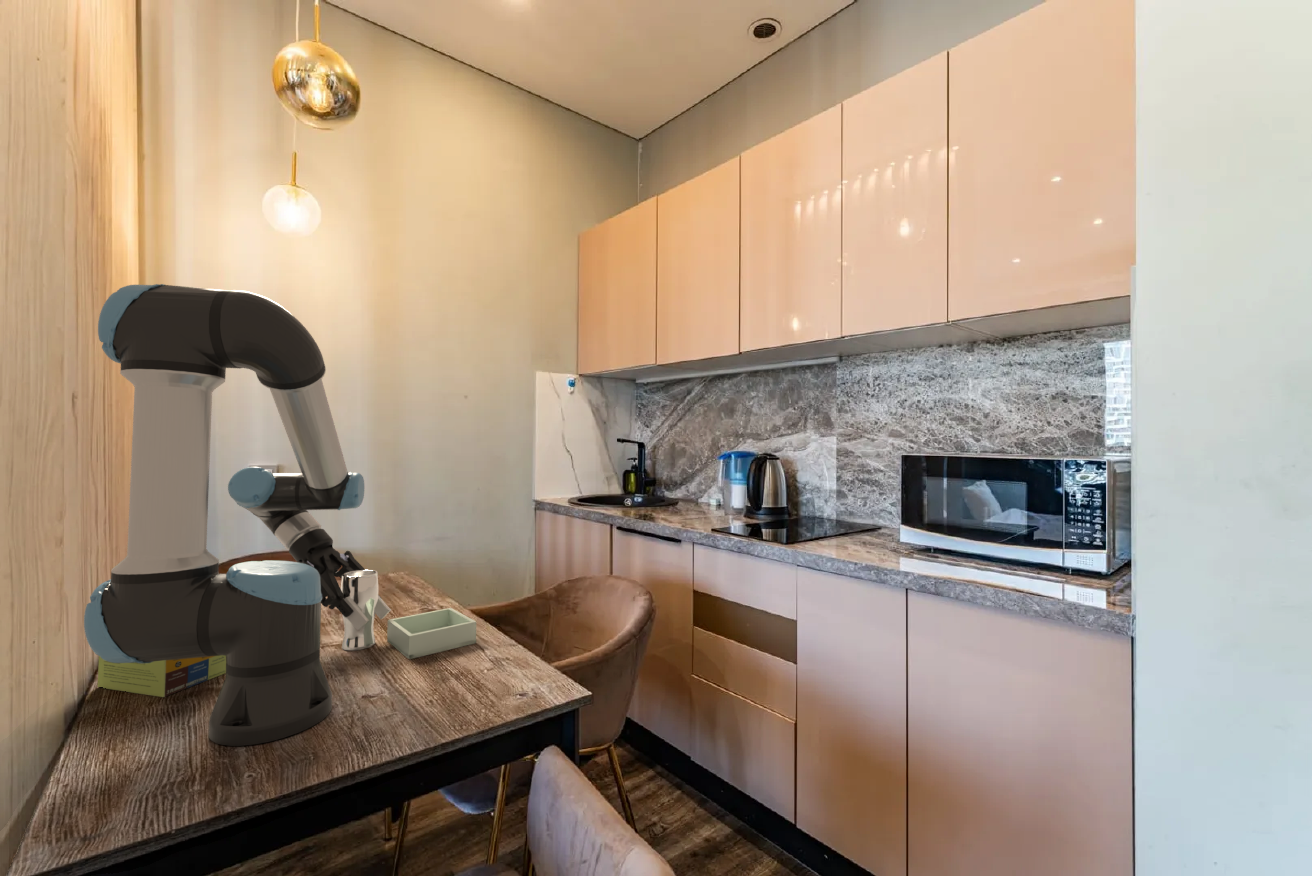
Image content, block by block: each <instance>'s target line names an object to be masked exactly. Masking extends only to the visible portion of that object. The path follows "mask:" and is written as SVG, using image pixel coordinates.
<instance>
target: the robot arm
mask: <svg viewBox="0 0 1312 876" xmlns="http://www.w3.org/2000/svg"><path fill="white" fill-rule="evenodd" d="M97 335H98V340H99V342H101V343H102V344H101V345H102V346H101V349H102V350H103V353H104V354H105V355H106V356H107V358H109V359H110V360H111V361H112V362H115V363H118V364H120V370H119V371H120V373H119V374H120V375H121V376H122V377H123V378H125V379H126V380H127V381H128V382H129V383H131V384H132V386H133V387H134V393H133V394H134V395H133V415H132V416H133V417H132V421H133V422H132V438H131V439H132V441H131V459H130V460H131V461H130V484H129V485H130V487H129V504H128V508H129V509H128V529H127V551H126V552H127V553H126V556H125V557H124V558H123V559H122V560H121V561H119V562H118V563H117V564H116V565H115V566H114V567H113V568H111V572H110V578H109V579H108V580H106V581H104V582H102V583H101V584H99V585H98V586H97V587H95V589H94V590H93V592H91V595H90V596H89V599H90V602H89V603H87V604H86V605H85V609H84V616H83V628H84V630H83V631H84V634H85V638H86V640H87V643H88V646H89V647H90V649H91V650H92V651H93V654H95V655H97V656H98V657H99V656H100V657H101V658H102V659H103V660H105V661H108V662H112V663H151V662H154V661H163V660H174V659H186V658H197V657H208V656H220V655H225V656H226V673H225V677H224V679H223V680H224V681H223V683H222V686H221V687H220V691H219V693H218V696H217V698H216V701H215V703H214V705H213V709H212V710H211V714H210V717H209V721H208V738H209V739H210V741H212V742H213V743H215V744H218V745H222V746H228V747H229V746H230V747H234V746H235V747H236V746H237V747H240V746H252V745H258V744H259V745H260V744H265V743H270V742H273V741H278V740H281V739H284V738H287V737H291V736H293V735H295V734H298V733H301V732H303V731H306V730H308V729H310V728H312V727H314V726H315V725H317V724H319V723H320V722H322V721H324V719H326V717H327V716H328V715H330V713H331V711H332V709H333V708H332V707H333V693H332V690H331V687H330V684H329V681H328V679H327V676H326V674H325V673H326V672H325V670H324V668H323V665H322V663H321V659H320V658H321V657H320V656H321V653H320V652H321V622H322V621H321V618H322V617H321V616H322V613H321V612H322V606H323V607H325V608H327V607H328V609H330V610H334V609H335V608H336V609H337V610H338V611H339V612H340V613H341V615H342V617H343V616H345V617H346V618H347V619H348V620H349V621H350V622H351V623H352V625H353V626H354V627H355V628H356V629H357V631H358V630H360V629H361V628H362V627H363V626H364V625H365V624H366V623H367V622H368V621H369V620H368V619H367V617H366V616H365V615H364V614H363V613H362V612H361V610H360V609H359V608H358V607H357V606H356V605H355V603H354V602H352V601H351V600H350V599H349V598H348V597H346V598H345V599H344V595H343V593H342V591H341V586H340V585H339V582H338V580H337V579H336V578H341V579H342V574H344V573H347V572H351V571H357V570H366V569H365V568H364V567H363V566H362V564H361V563H360V562H359V561H357V559H356V558H355V557H354V556H353V554H352V552H351V551H349V550H345V551H344V553H340V552H339V551H338V550H336V549H335V548H333V544H334V540H333V538H332V537H331V536H330V535H329V533H327V531H326V530H325V529H324V528H322V525H321V524H320V523H319V522H318V521H317V520H316V518H315V517H314V516H313V515H312V514H311V513H310V512H309V511H328V510H329V511H332V510H333V511H336V510H337V511H341V510H350V509H358V508H359V507H360V506H361V505H362V503H363V500H364V498H365V497H364V496H365V480H364V476H363V475H362V474H361V473H360V472H352V471H349V472H348V469H347V465H346V461H345V457H344V454H343V450H342V447H341V443H340V440H339V437H338V433H337V428H336V425H335V422H334V419H333V415H332V412H331V411H332V410H331V408H330V404H329V400H328V397H327V393H326V390H325V385H324V383H323V377H325V374H326V370H327V369H326V365H325V361H324V360H325V359H324V357H323V353H322V352H321V349H320V347H319V345H318V344H317V342H316V341H315V338H314V337H313V336H312V334H311V333H310V331H308V329H307V328H306V327H305V326H304V325H303V324H302V323H301V322H300V320H298V319H297V318H296V317H295V316H294V315H293V314H292V312H290V311H288V310H287V309H286V308H284V307H283V306H282V305H280V304H279V303H277V302H275V301H273V300H272V299H271V298H268V297H266V296H263V295H261V294H257V293H254V292H250V291H247V290H236V289H233V290H228V289H216V288H215V289H214V288H205V287H204V288H203V287H202V288H201V287H193V286H191V287H190V286H181V285H172V284H171V285H170V284H164V283H161V284H158V283H156V284H130V285H129V284H128V285H125V286H122V287H120V288H119V289H118V290H116V291H115V292H112V293H111V294H110V295H109V296H108V297H107V299H106V300H105V302H104V304H103V306H102V308H101V311H100V312H99V318H98V323H97ZM226 369H247V370H250V371H252V372H254V373H255V375H256V377H257V380H258V382H259V383H260V384H261V385H262V386H264V387H265V388H268V389H269V390H270V393H271V396H272V398H273V401H274V404H275V407H276V408H277V411H278V413H279V417H280V419H281V422H282V425H283V427H284V430H285V433H286V435H287V437H288V441H289V443H290V446H291V449H292V451H293V453H294V456H295V458H296V461H297V464H298V467H299V469H300V472H271V471H269V470H268V469H266V468H264V467H260V466H247V467H244V468H242V469H240V470H238V471H236V472H235V473H234V474H233V475H232V477H231V478H230V479H229V481H228V484H227V491H228V494H229V496H230V498H232V500H233V501H235V503H236V504H237V505H239V507H241V508H243V509H245V510H247V511H248V512H250V513H252V514H253V515H254V516H256V517H257V518H258V519H259V520H260V521H261V522H262V523H263V524H264V525H265V526H266V527H267V528H268V529H269V530H270V532H271V533H272V534H273V535H274V536H275V537H276V538H277V540H278V541H279V542H280V543H281V544H282V546H283V547H284V548H285V549H286V550H288V553H289V554H290V555H291V556H292V558H293V559H294V560H295V561H291V560H290V561H289V560H268V559H267V560H262V561H261V560H251V561H244V562H239V563H235V564H233V565H232V566H230V567H229V568H228V571H227V572H226V573H220V572H219V567H220V566H219V565H220V561H219V560H220V559H219V558H217V556H215V555H213V554H212V553H211V552H210V551H208V549H207V546H208V545H207V544H208V543H207V540H208V517H209V515H208V512H209V491H210V490H209V489H210V487H209V486H210V462H211V461H210V459H211V435H212V434H211V432H212V412H213V411H212V410H213V409H212V407H213V406H212V405H213V392H214V391H215V390H216V389H217V388H219V387H220V386H222V385H223V384H224V383H226V375H227V374H226V372H227V371H226ZM391 611H392V609H391V608H390V607H389V606H388V605H387V603H386V602H385V600H383V599H382V597H381V596H380V595H379V593H378V601H377V607H376V612H375V616H377V618H379V620H382V619H384V618H385V617H386V616H387V615H388V614H389V613H390V612H391Z"/></svg>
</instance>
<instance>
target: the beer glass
mask: <svg viewBox="0 0 1312 876" xmlns="http://www.w3.org/2000/svg"><path fill="white" fill-rule="evenodd" d="M378 575H379V574H378V571H377V570H375V569H365V570H357V571H351V572H347V573H344V574H342V578H341V584H340V589H341V591H342V593H343V595H344V599H345V598H346V597H348V598H349V599H350V600H351V601H352V602H354V603H355V605H356V606H357V607H358V608H359V609H360V610H361V612H362V613H363V614H364V615H365V616H366V617H367V619H368V620H369V621H368V622H367V623H366V624H365V625H364V626H363V627H362V628H361V629H360V630H358V631H357V629H356V628H355V627H354V626H353V625H352V623H351V622H350V621H349V620H348V619H347V618H346V617H345V616H343V615H342V618H343V619H342V620H343V626H344V627H343V629H344V633H343V635H344V636H343V639H342V644H341V649H342V650H344V651H348V652H349V651H351V652H354V651H362V650H365V649H369V648H371V647H373V646H374V645H376V638H375V634H374V632H375V631H374V624H375V623H374V621H375V617H376V614H375V612H376V607H377V601H378V594H379V579H378V578H379V577H378Z"/></svg>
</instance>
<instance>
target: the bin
mask: <svg viewBox="0 0 1312 876" xmlns="http://www.w3.org/2000/svg"><path fill="white" fill-rule="evenodd" d="M386 629H387V630H386V631H387V633H386V634H387V635H386V637H387V639H386V640H387V643H388V644H390V645H391V646H392V647H393V648H395V649H396V650H397V651H398V652H400V653H401V654H402V655H403V656H404V657H405V658H407V659H408V660H412V659H416V658H420V657H424V656H429V655H433V654H437V653H441V652H445V651H449V650H453V649H457V648H462V647H466V646H470V645H473V644H477V621H476V620H474V619H472V618H470V617H468V615H465V614H463V613H461V612H460V611H458V610H456V609H454V608H452V607H448V608H443V609H437V610H433V611H427V612H422V613H416V614H412V615H407V616H402V617H401V616H400V617H395V618H391V619H388V620H387V628H386Z"/></svg>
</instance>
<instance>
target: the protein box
mask: <svg viewBox="0 0 1312 876" xmlns="http://www.w3.org/2000/svg"><path fill="white" fill-rule="evenodd" d="M97 669H98V670H97V688H99V687H103V688H102V689H105V688H106V689H107V690H113V691H118V692H119V691H121V692H125V691H126V692H127V693H132V694H140V695H147V696H154V697H159V698H166V697H168V696H171V695H173V694H175V693H179V692H181V691H183V690H186V689H189V688H191V687H194V686H196V685H199V684H201V683H204V682H206V681H209V680H212V679H215V678H217V677H219V676H223V675H226V656H225V655H220V656H208V657H197V658H186V659H174V660H163V661H154V662H151V663H112V662H108V661H105V660H103V659H102V658H101V657H100V656H98V667H97Z"/></svg>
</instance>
